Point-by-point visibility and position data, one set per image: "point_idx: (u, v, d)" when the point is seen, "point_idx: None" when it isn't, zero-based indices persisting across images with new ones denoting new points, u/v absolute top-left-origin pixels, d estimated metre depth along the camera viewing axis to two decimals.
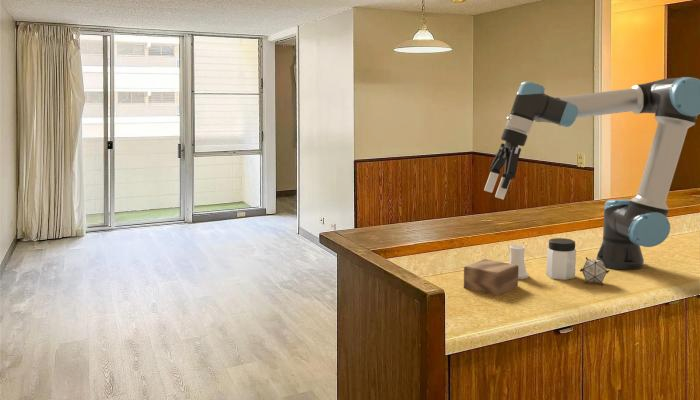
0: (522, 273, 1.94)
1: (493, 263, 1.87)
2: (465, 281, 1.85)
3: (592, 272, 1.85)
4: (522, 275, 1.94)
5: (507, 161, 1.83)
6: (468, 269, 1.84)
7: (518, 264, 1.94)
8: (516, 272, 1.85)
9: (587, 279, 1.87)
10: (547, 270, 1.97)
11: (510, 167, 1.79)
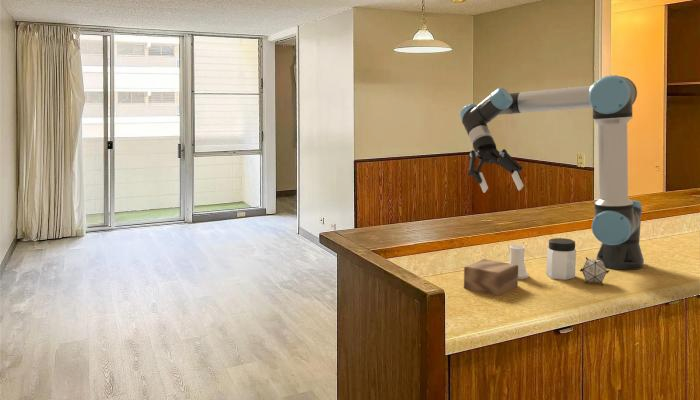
0: (522, 273, 1.94)
1: (493, 263, 1.87)
2: (465, 281, 1.85)
3: (592, 272, 1.85)
4: (522, 275, 1.94)
5: None
6: (468, 269, 1.84)
7: (518, 264, 1.94)
8: (516, 272, 1.85)
9: (587, 279, 1.87)
10: (547, 270, 1.97)
11: (469, 168, 2.04)
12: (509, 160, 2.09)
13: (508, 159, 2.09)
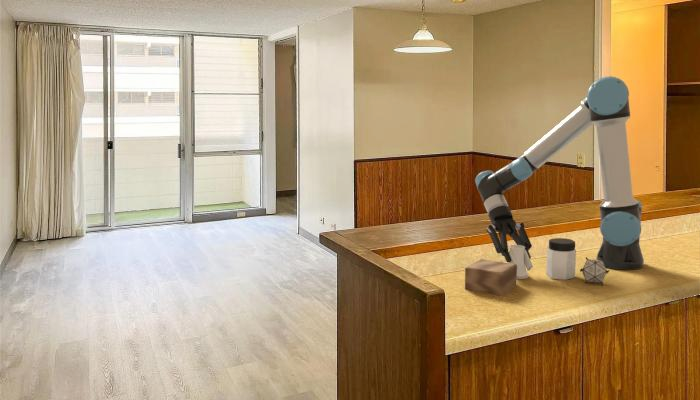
0: (522, 273, 1.94)
1: (492, 263, 1.87)
2: (467, 282, 1.84)
3: (592, 272, 1.85)
4: (522, 275, 1.94)
5: (500, 239, 2.00)
6: (470, 270, 1.83)
7: (518, 264, 1.94)
8: (515, 271, 1.86)
9: (587, 279, 1.87)
10: (547, 270, 1.97)
11: (495, 245, 1.98)
12: (522, 235, 2.01)
13: (522, 233, 2.01)
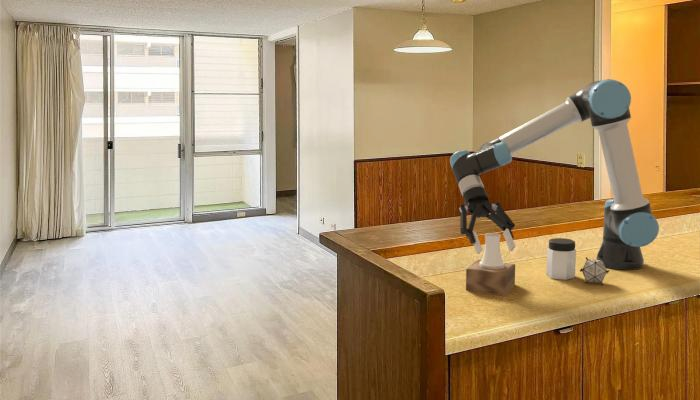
0: (498, 263, 1.82)
1: None
2: (468, 284, 1.83)
3: (592, 272, 1.85)
4: (497, 265, 1.82)
5: (470, 220, 1.87)
6: (471, 271, 1.82)
7: (493, 253, 1.82)
8: (514, 271, 1.87)
9: (587, 279, 1.87)
10: (547, 270, 1.97)
11: (460, 226, 1.85)
12: (501, 215, 1.89)
13: (501, 214, 1.89)
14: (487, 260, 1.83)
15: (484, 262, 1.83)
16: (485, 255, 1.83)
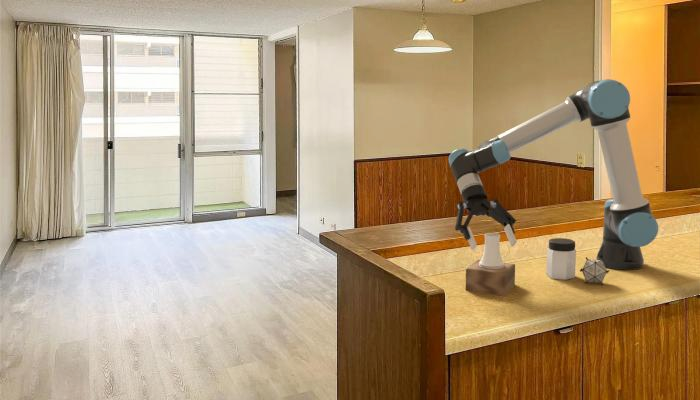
0: (497, 262, 1.82)
1: None
2: (467, 284, 1.83)
3: (592, 272, 1.85)
4: (497, 265, 1.81)
5: None
6: (470, 271, 1.82)
7: (493, 253, 1.82)
8: (514, 271, 1.86)
9: (587, 279, 1.87)
10: (547, 270, 1.97)
11: (456, 222, 1.86)
12: (501, 211, 1.90)
13: (500, 210, 1.90)
14: (486, 260, 1.82)
15: (484, 262, 1.83)
16: (485, 255, 1.83)
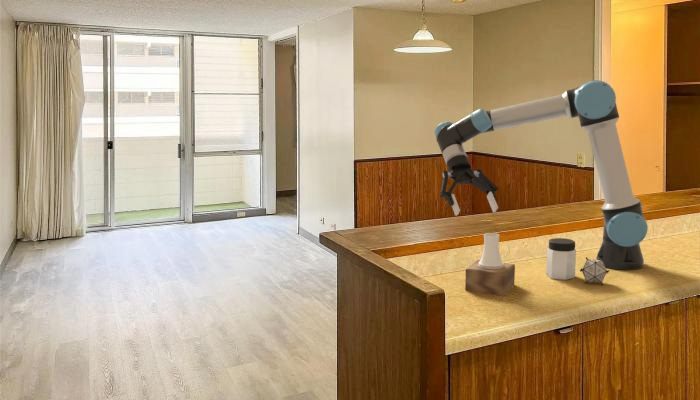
0: (497, 263, 1.82)
1: None
2: (467, 284, 1.83)
3: (592, 272, 1.85)
4: (497, 265, 1.81)
5: None
6: (470, 271, 1.82)
7: (492, 253, 1.82)
8: (513, 271, 1.86)
9: (587, 279, 1.87)
10: (547, 270, 1.97)
11: (441, 189, 1.95)
12: (484, 180, 2.00)
13: (483, 179, 2.00)
14: (486, 260, 1.82)
15: (483, 262, 1.83)
16: (484, 255, 1.83)
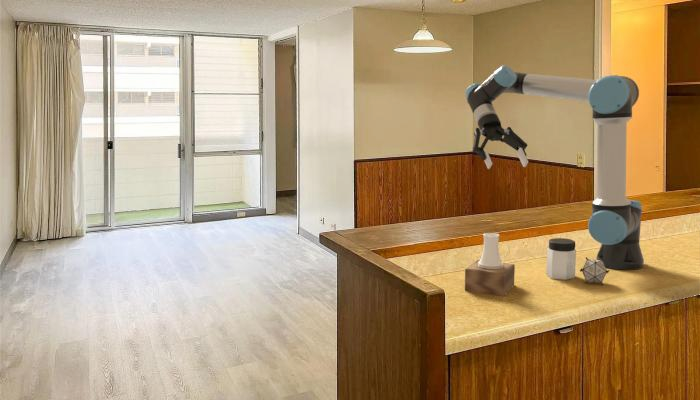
0: (496, 262, 1.81)
1: None
2: (467, 284, 1.83)
3: (592, 272, 1.85)
4: (496, 265, 1.81)
5: None
6: (470, 271, 1.82)
7: (492, 253, 1.82)
8: (513, 271, 1.86)
9: (587, 279, 1.87)
10: (547, 270, 1.97)
11: (473, 145, 2.05)
12: (514, 137, 2.10)
13: (513, 136, 2.10)
14: (486, 260, 1.82)
15: (483, 262, 1.83)
16: (484, 255, 1.83)
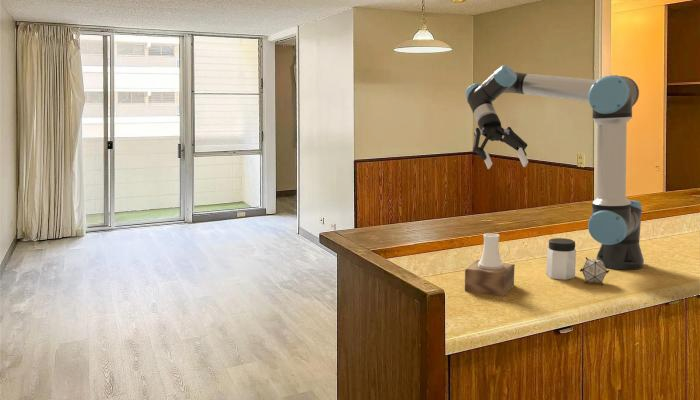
0: (497, 263, 1.81)
1: None
2: (467, 284, 1.82)
3: (592, 272, 1.85)
4: (497, 265, 1.81)
5: None
6: (470, 271, 1.81)
7: (492, 253, 1.81)
8: (513, 271, 1.86)
9: (587, 279, 1.87)
10: (547, 270, 1.97)
11: (473, 145, 2.05)
12: (514, 137, 2.10)
13: (513, 136, 2.10)
14: (486, 260, 1.82)
15: (483, 263, 1.82)
16: (484, 255, 1.83)
